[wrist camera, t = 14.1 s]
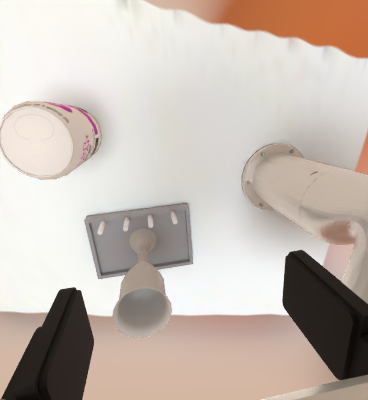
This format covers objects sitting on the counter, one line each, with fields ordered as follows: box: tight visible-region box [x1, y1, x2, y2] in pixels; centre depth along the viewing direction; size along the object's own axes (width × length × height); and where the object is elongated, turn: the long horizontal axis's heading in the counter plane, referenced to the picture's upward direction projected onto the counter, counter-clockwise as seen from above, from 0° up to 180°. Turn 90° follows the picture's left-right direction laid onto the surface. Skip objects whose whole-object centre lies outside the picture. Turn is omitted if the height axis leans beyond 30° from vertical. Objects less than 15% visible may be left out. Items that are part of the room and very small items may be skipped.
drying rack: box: [84, 203, 193, 279], centre depth 43 cm, size 18×12×6 cm, turn 95°
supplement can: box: [0, 101, 101, 180], centre depth 32 cm, size 8×8×15 cm
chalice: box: [113, 228, 172, 338], centre depth 37 cm, size 7×7×18 cm
